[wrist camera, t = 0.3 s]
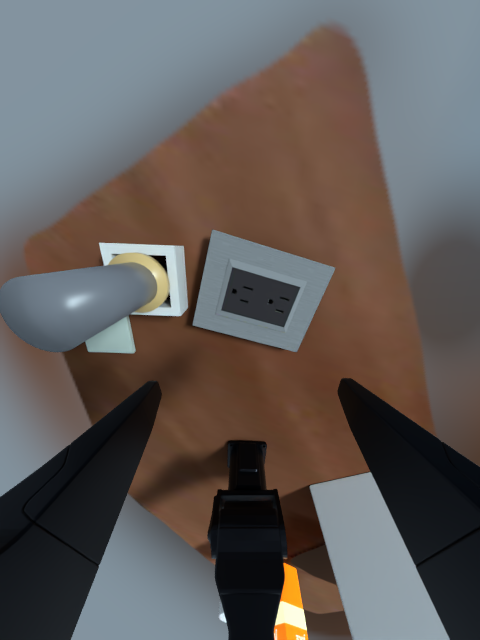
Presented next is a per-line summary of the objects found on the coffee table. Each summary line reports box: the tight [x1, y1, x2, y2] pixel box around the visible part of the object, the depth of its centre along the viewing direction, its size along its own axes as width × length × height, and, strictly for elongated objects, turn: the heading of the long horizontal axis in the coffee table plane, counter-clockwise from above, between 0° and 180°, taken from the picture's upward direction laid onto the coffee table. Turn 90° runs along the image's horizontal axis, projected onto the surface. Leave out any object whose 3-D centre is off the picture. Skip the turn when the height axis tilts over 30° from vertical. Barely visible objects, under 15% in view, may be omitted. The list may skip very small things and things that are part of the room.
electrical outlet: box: [193, 230, 335, 352], centre depth 21 cm, size 13×10×2 cm
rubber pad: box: [85, 315, 136, 353], centre depth 23 cm, size 6×6×1 cm
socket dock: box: [99, 243, 188, 316], centre depth 20 cm, size 7×7×3 cm
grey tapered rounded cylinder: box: [0, 252, 170, 352], centre depth 15 cm, size 6×6×13 cm
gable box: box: [309, 472, 450, 640], centre depth 25 cm, size 22×13×28 cm, turn 22°
